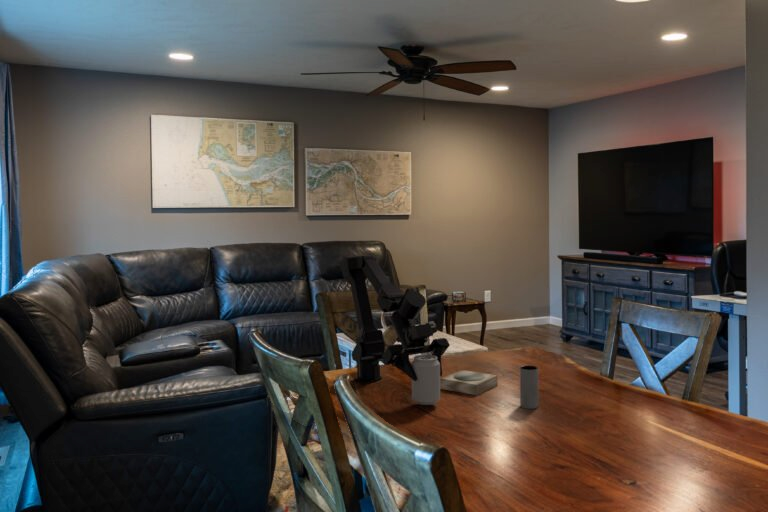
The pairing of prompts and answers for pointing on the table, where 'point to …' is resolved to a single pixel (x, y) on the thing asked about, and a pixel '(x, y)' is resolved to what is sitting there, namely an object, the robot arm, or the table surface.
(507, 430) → the table surface
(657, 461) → the table surface
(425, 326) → the robot arm
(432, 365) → the can
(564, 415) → the table surface
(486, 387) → the pedestal
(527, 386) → the grey cylinder
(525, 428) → the table surface
